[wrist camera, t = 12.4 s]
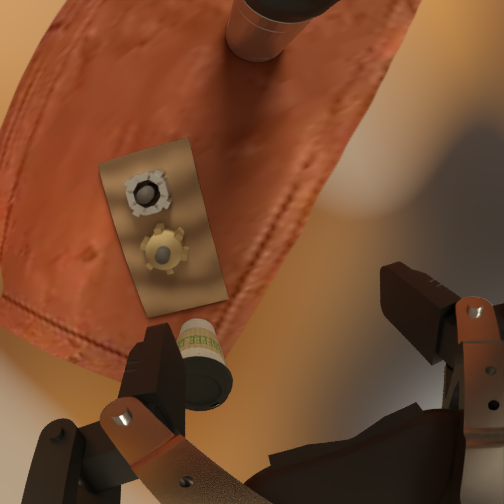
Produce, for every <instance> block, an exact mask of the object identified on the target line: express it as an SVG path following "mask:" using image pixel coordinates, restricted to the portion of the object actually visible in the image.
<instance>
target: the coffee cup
mask: <svg viewBox="0 0 504 504" xmlns="http://www.w3.org/2000/svg"><path fill="white" fill-rule="evenodd" d="M176 343H177V345H178V348H179V350H180V353H181V355H182V358H183V361H184V365H185V371H186V380H185V409H189V410H193V411H206V410H210V409H214V408H216V407H218V406H220V405H221V404H222V403H224V402H225V400H226V399H227V397H228V395H229V393H230V392H231V388H232V383H233V379H232V375H231V372H230V371H229V369H228V368H227V366H226V362H225V359H224V356H223V353H222V350H221V346H220V343H219V340H218V338H217V336H216V333H215V330H214V328H213V326H212V325H211V324H210V323H209V322H208V321H206V320H204V319H197V318H196V319H191V320H188V321H187V322H185V323H184V324H183V325H182V327H181V330H180V333H179V336H178V338H177V340H176Z"/></svg>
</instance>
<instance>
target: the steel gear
mask: <svg viewBox="0 0 504 504" xmlns="http://www.w3.org/2000/svg"><path fill="white" fill-rule="evenodd" d="M165 172H166V171H165V170H163V169H161V168H158V169H157V170H150V171H146V172H143V173H140V174H138V175H136V176H131V177H129V178H127V180H126V182H125V184H124V185H125V186H127V189H126V191H127V192H125V193H126V196H127V200H128V203H129V207H131V209H133V210H134V211H133V213H132V214H133V215H135V216H137V217H139V216H140V215H143V216H144V215H145V216H146V215H150V214H153V213H157V212H160V211H161V210H162V208H163V207H164V208H165V209H167V208H168V207H169V205H170V203H171V201H172V199H173V198H171V197H169V196H170V194H171V188H170V185H169V181H168V178H166V177H167V176H165V175H164V173H165ZM145 180H150V181H152V182H154V183H155V184H157V185H158V187H159V191H160V195H161V196H160V198H159V200H158V201H155V202H151V203H147V204H141V203H140V202H139V201H138V200H137V192H138V191H139V186H140V185H141V183H142V181H145Z"/></svg>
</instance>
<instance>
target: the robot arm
mask: <svg viewBox="0 0 504 504" xmlns="http://www.w3.org/2000/svg"><path fill="white" fill-rule="evenodd" d="M338 1H340V0H234V2H233V5H232V9H231V13H230V17H229V21H228V25H227V29H226V41H227V44H228V46H229V48H230V49H231V51H232V52H233V53H234V54H236V55H237V56H238V57H240V58H242V59H244V60H247V61H250V62H265V61H269V60H271V59H273V58H275V57H276V56H277V55H279V54H280V53H281V51H282V50H283V49H284V48H285V47H286V46H287V45H288V44H289V43H290V42H291V41H292V40H293V39H294V38H295V37H296V36H297V35H298V34H299V33H300V32H301V31H302V30H303V29H304V28H305V27H306V26H307V25H308V24H309V23H310V21H311V20H312V19H313V18H314V17H317V16H319V15H321V14H323V13H324V12H325V11H327V10H328V9H329V8H330V7H331V6H333V5H334V4H335V3H337V2H338ZM380 302H381V308H382V312H383V314H384V316H385V317H386V318H387V319H388V320H389V321H390V322H391V323H392V324H393V325H394V326H395V327H396V328H397V329H398V330H399V331H400V332H401V333H402V335H403V336H404V337H405V338H406V339H407V340H408V341H409V342H410V343H411V344H412V345H413V346H414V347H415V348H416V349H417V350H418V351H419V352H420V354H421V355H423V357H425V359H426V360H427V361H428V362H429V363H430V364H431V365H434V364H436V363H438V362H440V361H442V360H444V361H445V362H446V364H445V367H444V384H443V399H442V409H431V410H424V411H423V410H422V409H421V408H420V407H419V405H418V404H417V403H416V402H415V403H413V404H411V405H409V406H407V407H405V408H403V409H401V410H398V411H396V412H394V413H392V414H390V415H387V416H385V417H383V418H382V419H380V420H379V421H378V422H376V423H375V424H373V425H372V426H370V427H369V428H367V429H366V430H365V431H363V432H361V433H360V434H358V435H357V436H355V437H354V438H351V439H348V440H342V441H335V442H327V443H318V444H308V445H305V446H302V447H298V448H294V449H291V450H287V451H283V452H280V453H276V454H272V455H269V460H270V464H271V466H269V467H267V468H265V469H263V470H262V471H260V472H258V473H256V474H255V475H253V476H252V477H251V478H250V479H248V480H247V481H246V482H245V483H244V484H243V483H242V482H240V481H239V480H237V479H236V478H235V477H233V476H232V475H231V474H229V473H228V472H227V471H225V470H224V469H223V468H221V467H220V466H219V465H217V464H216V463H215V462H214V461H212V460H211V459H210V458H209V457H207V456H206V455H205V454H204V453H202V452H201V451H200V450H199V449H197V448H196V447H195V446H194V445H193V444H192V443H190V442H189V441H188V440H187V439H186V438H185V380H186V371H185V365H184V361H183V358H182V355H181V353H180V350H179V348H178V345H177V343H176V340H175V338H174V335H173V333H172V330H171V328H170V326H169V324H168V323H164V324H159V325H155V326H150V327H147V329H146V334H145V338H144V342H140V343H137V344H136V345H135V346H134V348H133V349H132V350H131V351H130V353H129V356H128V360H127V364H126V367H125V372H124V375H123V379H122V383H121V387H120V391H119V395H118V399H116V400H114V401H112V402H110V403H109V404H108V405H106V406H105V408H104V409H103V410H102V412H101V414H100V418H99V419H100V420H99V421H97V422H95V423H92V424H89V425H86V426H83V427H81V428H77V426H76V425H75V424H74V423H73V422H72V421H71V420H69V419H64V418H62V419H57V420H54V421H52V422H51V423H49V424H48V425H47V426H46V427H45V428H44V429H43V430H42V432H41V434H40V436H39V440H38V443H37V446H36V449H35V452H34V456H33V459H32V463H31V467H30V470H29V474H28V477H27V482H26V485H25V489H24V494H23V498H22V502H21V504H120V497H121V484H124V483H127V482H130V481H133V480H136V479H140V480H141V481H142V483H143V484H144V485H145V486H146V487H147V489H148V490H149V491H150V492H151V493H152V494H153V495H154V496H155V498H156V499H157V500H158V501H159V502H160V503H161V504H504V303H503V304H499V305H494V306H492V304H491V303H490V302H489V301H487V300H485V299H483V298H480V297H465V298H460V297H459V296H458V295H456V294H455V293H453V292H452V291H450V290H449V289H447V288H446V287H444V286H443V285H441V284H440V283H439V282H437V281H436V280H434V279H433V278H431V277H430V276H428V275H427V274H426V273H423V272H419V271H416V270H412V269H411V268H409V267H408V266H406V265H405V264H403V263H402V262H395V263H392V264H389V265H386V266H383V267H381V269H380Z"/></svg>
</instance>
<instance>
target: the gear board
mask: <svg viewBox="0 0 504 504" xmlns="http://www.w3.org/2000/svg"><path fill="white" fill-rule="evenodd" d="M98 167H99V171H100V175H101V179H102V183H103V186H104V190H105V194H106V197H107V201H108V204H109V208H110V211H111V214H112V218H113V221H114V224H115V228H116V231H117V234H118V237H119V240H120V243H121V246H122V249H123V252H124V255H125V258H126V261H127V264H128V267H129V270H130V272H131V275H132V278H133V281H134V283H135V286H136V289H137V291H138V294H139V297H140V299H141V302H142V304H143V307H144V309H145V312H146V314H147V317H148V318H150V317H155V316H159V315H163V314H168V313H172V312H177V311H181V310H185V309H190V308H194V307H198V306H202V305H206V304H211V303H215V302H219V301H223V300H227V299H229V298H228V294H227V290H226V286H225V282H224V279H223V275H222V271H221V267H220V263H219V260H218V256H217V252H216V248H215V244H214V240H213V236H212V232H211V228H210V224H209V220H208V216H207V212H206V208H205V204H204V200H203V196H202V192H201V188H200V184H199V179H198V175H197V171H196V167H195V163H194V158H193V154H192V150H191V145H190V141H189V138H184V139H180V140H176V141H173V142H169V143H165V144H162V145H158V146H154V147H151V148H148V149H144V150H141V151H137V152H134V153H131V154H128V155H125V156H121V157H118V158H115V159H112V160H109V161H106V162H103V163H100V164H98ZM158 168H161V169H163V170H165V171H166V172H165V173H164V175H165V176H167V177H166V178H168V181H169V185H170V188H171V194H170V196H169V197H171V198H173V199H172V201H171V203H170V205H169V207H168V208H167V209H165V208H164V207H163V208H162V210H161V211H160V212H157V213H153V214H150V215H146V216H145V215H144V216H143V215H140V216H139V217H137V216H135V215H133V214H132V213H133V211H134V210H133V209H131V207H129V203H128V200H127V196H126V193H125V192H127V191H126V189H127V186H125V185H124V184H125V182H126V180H127V178H129V177H131V176H136V175H138V174H140V173H143V172H146V171H150V170H157V169H158ZM160 196H161V195H160V191H159V187H158V185H157V184H155V183H154V182H152V181H150V180H145V181H142V183H141V185H140V186H139V191H138V192H137V200H138V201H139V202H140V203H141V204H147V203H151V202H155V201H158V200H159V198H160Z"/></svg>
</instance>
